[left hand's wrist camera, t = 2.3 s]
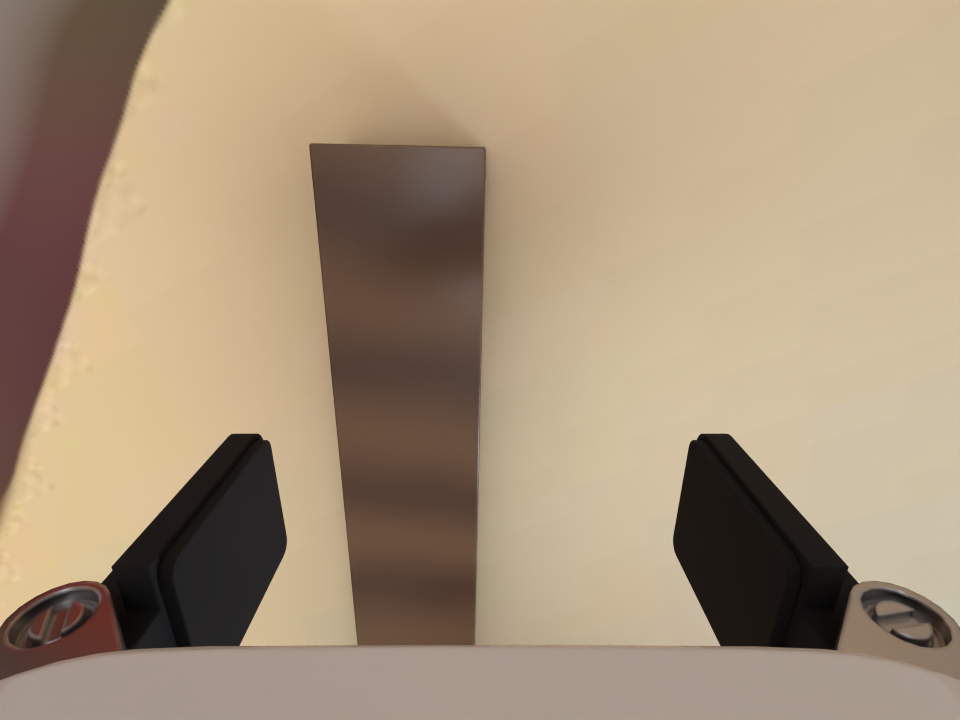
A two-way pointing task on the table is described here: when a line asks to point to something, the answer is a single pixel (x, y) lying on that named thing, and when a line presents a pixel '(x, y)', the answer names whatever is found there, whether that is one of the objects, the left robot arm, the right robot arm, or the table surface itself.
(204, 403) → the table surface
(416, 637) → the beam
